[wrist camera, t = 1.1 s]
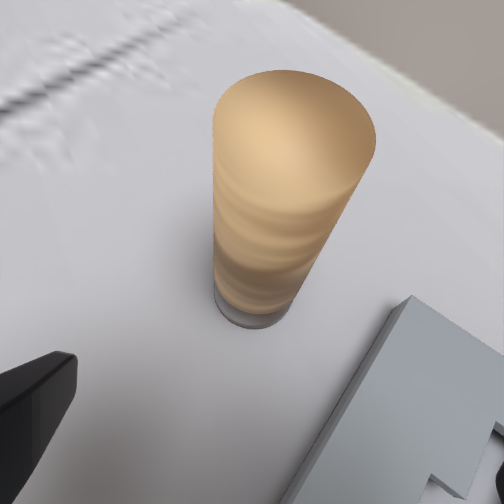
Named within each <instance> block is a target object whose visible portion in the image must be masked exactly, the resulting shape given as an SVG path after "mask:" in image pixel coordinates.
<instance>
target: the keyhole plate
mask: <svg viewBox="0 0 504 504" xmlns="http://www.w3.org/2000/svg"><path fill="white" fill-rule="evenodd" d="M492 429H494V430H496V431H497V432H498V433H500V434H501V435H503V436H504V356H502V355H501V354H499V353H498V352H496V351H495V350H493V349H492V348H491V347H489V346H488V345H486V344H485V343H483V342H482V341H480V340H479V339H477V338H476V337H474V336H473V335H471V334H470V333H468V332H467V331H465V330H464V329H462V328H461V327H459V326H458V325H456V324H455V323H453V322H452V321H450V320H449V319H447V318H446V317H444V316H443V315H441V314H440V313H438V312H437V311H435V310H434V309H432V308H431V307H429V306H428V305H426V304H425V303H423V302H422V301H420V300H419V299H417V298H416V297H414V296H413V295H411V296H410V297H409V298H407V299H406V300H405V301H403V302H402V303H401V304H399V305H398V306H397V307H395V308H394V309H393V311H392V312H391V314H390V316H389V317H388V319H387V321H386V323H385V324H384V326H383V328H382V329H381V331H380V333H379V334H378V336H377V338H376V340H375V341H374V343H373V345H372V346H371V348H370V350H369V351H368V353H367V355H366V357H365V358H364V360H363V362H362V363H361V365H360V367H359V368H358V370H357V372H356V373H355V375H354V377H353V379H352V380H351V382H350V384H349V385H348V387H347V389H346V390H345V392H344V394H343V396H342V397H341V399H340V401H339V402H338V404H337V406H336V407H335V409H334V411H333V412H332V414H331V416H330V418H329V419H328V421H327V423H326V424H325V426H324V428H323V429H322V431H321V433H320V435H319V436H318V438H317V440H316V441H315V443H314V445H313V446H312V448H311V450H310V451H309V453H308V455H307V457H306V458H305V460H304V462H303V463H302V465H301V467H300V468H299V470H298V472H297V474H296V475H295V477H294V479H293V480H292V482H291V484H290V485H289V487H288V489H287V491H286V492H285V494H284V496H283V497H282V499H281V501H280V502H279V504H418V502H419V500H420V498H421V495H422V493H423V491H424V488H425V486H426V484H427V481H428V479H429V478H430V479H431V480H432V481H434V482H435V483H436V484H438V485H439V486H440V487H442V488H443V489H444V490H445V491H447V492H448V493H449V494H451V495H452V496H453V497H456V498H460V499H465V500H466V498H467V495H468V493H469V490H470V488H471V485H472V482H473V480H474V477H475V474H476V472H477V469H478V466H479V464H480V461H481V458H482V456H483V453H484V451H485V448H486V445H487V443H488V440H489V437H490V435H491V432H492Z"/></svg>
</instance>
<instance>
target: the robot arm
mask: <svg viewBox="0 0 504 504" xmlns="http://www.w3.org/2000/svg"><path fill="white" fill-rule="evenodd" d="M77 365H78V360H77V357H76V355H74V354H71V353H66V352H61V351H54V352H52V353H49V354H47V355H44V356H42V357H40V358H37V359H35V360H32V361H30V362H28V363H25V364H23V365H20V366H18V367H16V368H13V369H11V370H8V371H6V372H4V373H1V374H0V504H12V503H13V501H14V500H15V498H16V497H17V495H18V494H19V492H20V491H21V489H22V488H23V487H24V485H25V483H26V482H27V480H28V479H29V477H30V476H31V474H32V473H33V471H34V469H35V467H36V466H37V464H38V462H39V460H40V459H41V457H42V455H43V453H44V451H45V450H46V448H47V446H48V444H49V442H50V440H51V439H52V437H53V435H54V433H55V431H56V429H57V428H58V426H59V424H60V422H61V420H62V418H63V417H64V415H65V413H66V411H67V409H68V407H69V406H70V404H71V402H72V400H73V398H74V395H75V392H76V387H77ZM496 488H497V491H498V494H499V497H500V500H501V503H502V504H504V462H503V464H502V465H501V467H500V469H499V471H498V473H497V475H496Z"/></svg>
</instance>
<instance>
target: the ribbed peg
mask: <svg viewBox="0 0 504 504" xmlns="http://www.w3.org/2000/svg"><path fill="white" fill-rule="evenodd" d="M375 146H376V134H375V129H374V125H373V123H372V120H371V118H370V116H369V114H368V112H367V111H366V109H365V108H364V107H363V105H362V104H361V103H360V102H359V101H358V100H357V99H356V98H355V97H354V96H353V95H352V94H351V93H349V92H348V91H347V90H345V89H344V88H342V87H341V86H339V85H337V84H336V83H334V82H332V81H330V80H327V79H325V78H323V77H320V76H317V75H314V74H310V73H305V72H300V71H291V70H274V71H266V72H261V73H257V74H254V75H251V76H248V77H246V78H244V79H242V80H240V81H238V82H237V83H235V84H234V85H232V86H231V87H230V88H229V89H228V90H226V92H225V93H224V94H223V95H222V96H221V98H220V99H219V101H218V103H217V105H216V108H215V110H214V115H213V218H214V278H215V280H214V296H215V301H216V304H217V306H218V308H219V310H220V311H221V313H222V314H223V315H224V316H225V317H226V318H227V319H228V320H229V321H230V322H232V323H234V324H235V325H237V326H240V327H243V328H247V329H262V328H266V327H269V326H271V325H273V324H275V323H277V322H278V321H279V320H281V319H282V318H283V316H284V315H285V314H286V313H287V311H288V309H289V307H290V306H291V304H292V302H293V299H294V298H295V296H296V295H297V293H298V291H299V289H300V288H301V286H302V284H303V282H304V280H305V279H306V277H307V275H308V273H309V271H310V270H311V268H312V266H313V264H314V262H315V261H316V259H317V257H318V255H319V253H320V252H321V250H322V248H323V246H324V244H325V243H326V241H327V239H328V237H329V235H330V234H331V232H332V230H333V228H334V226H335V225H336V223H337V221H338V219H339V217H340V216H341V214H342V212H343V210H344V208H345V207H346V205H347V203H348V201H349V199H350V198H351V196H352V194H353V192H354V190H355V189H356V187H357V185H358V183H359V181H360V180H361V178H362V176H363V174H364V172H365V171H366V169H367V167H368V165H369V163H370V161H371V159H372V157H373V155H374V151H375Z"/></svg>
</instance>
